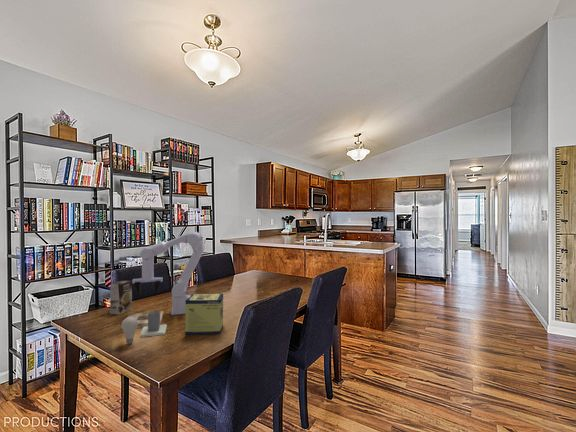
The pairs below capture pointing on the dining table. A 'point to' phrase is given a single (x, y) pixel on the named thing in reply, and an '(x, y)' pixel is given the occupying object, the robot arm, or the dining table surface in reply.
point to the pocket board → (143, 318)
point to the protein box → (204, 314)
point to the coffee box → (120, 297)
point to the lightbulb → (129, 328)
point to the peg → (154, 321)
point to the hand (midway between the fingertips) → (147, 295)
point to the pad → (153, 333)
